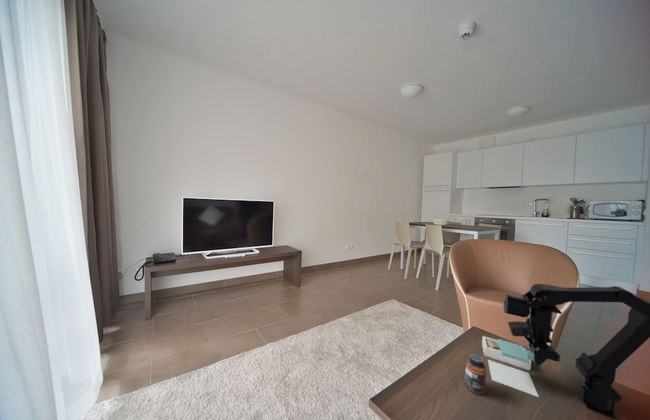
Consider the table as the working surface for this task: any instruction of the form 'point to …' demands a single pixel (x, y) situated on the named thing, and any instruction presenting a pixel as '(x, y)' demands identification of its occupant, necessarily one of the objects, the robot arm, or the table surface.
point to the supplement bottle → (475, 374)
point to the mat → (512, 377)
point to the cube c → (493, 345)
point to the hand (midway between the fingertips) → (535, 361)
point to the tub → (498, 355)
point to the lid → (515, 351)
